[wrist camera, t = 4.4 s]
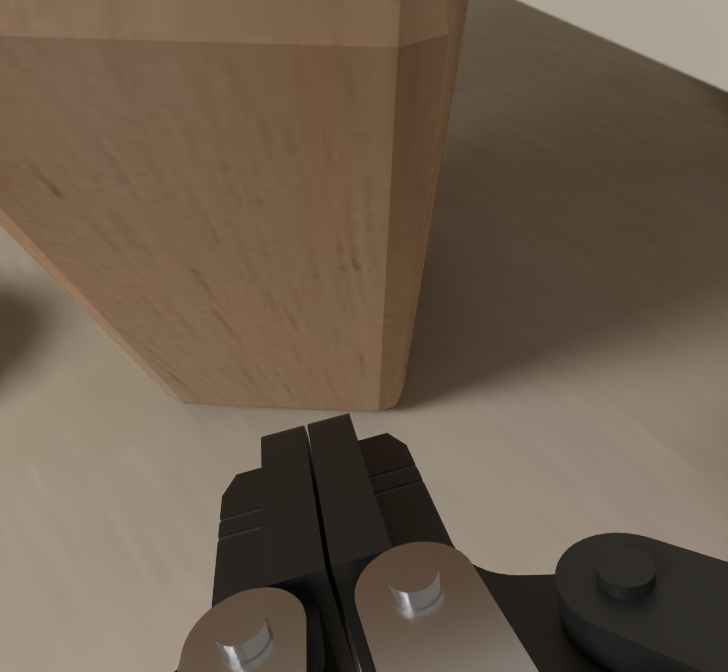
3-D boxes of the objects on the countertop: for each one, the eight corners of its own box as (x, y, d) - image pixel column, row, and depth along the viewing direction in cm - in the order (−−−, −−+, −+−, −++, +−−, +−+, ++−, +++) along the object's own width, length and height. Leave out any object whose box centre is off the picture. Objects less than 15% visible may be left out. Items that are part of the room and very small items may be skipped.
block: (168, 409, 26) (-307, -39, 8) (203, 213, 30) (-57, -391, 12) (401, 419, 26) (482, -18, 8) (406, 220, 30) (466, -385, 11)
